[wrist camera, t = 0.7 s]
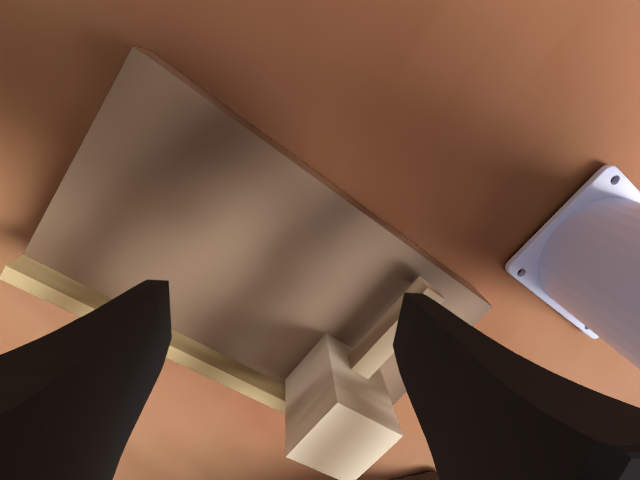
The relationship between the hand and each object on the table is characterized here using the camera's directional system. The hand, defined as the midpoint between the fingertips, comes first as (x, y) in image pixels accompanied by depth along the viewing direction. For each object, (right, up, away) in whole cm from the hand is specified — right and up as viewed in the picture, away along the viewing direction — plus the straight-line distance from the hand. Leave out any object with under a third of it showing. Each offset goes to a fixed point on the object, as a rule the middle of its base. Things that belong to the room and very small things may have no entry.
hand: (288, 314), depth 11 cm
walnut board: (-2, 0, +10) cm, 10 cm away
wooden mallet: (+4, -3, +10) cm, 11 cm away
